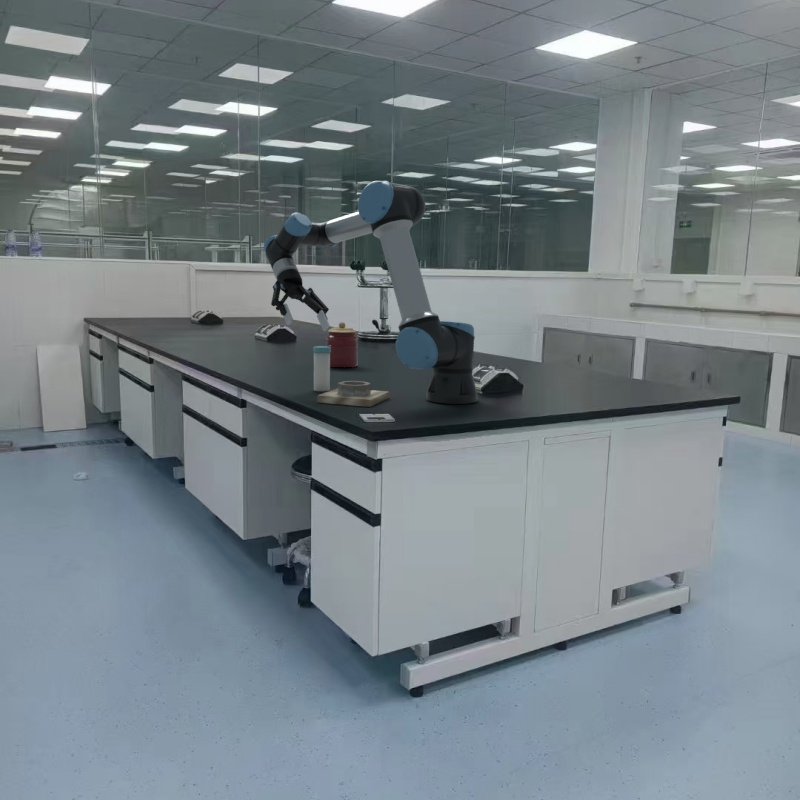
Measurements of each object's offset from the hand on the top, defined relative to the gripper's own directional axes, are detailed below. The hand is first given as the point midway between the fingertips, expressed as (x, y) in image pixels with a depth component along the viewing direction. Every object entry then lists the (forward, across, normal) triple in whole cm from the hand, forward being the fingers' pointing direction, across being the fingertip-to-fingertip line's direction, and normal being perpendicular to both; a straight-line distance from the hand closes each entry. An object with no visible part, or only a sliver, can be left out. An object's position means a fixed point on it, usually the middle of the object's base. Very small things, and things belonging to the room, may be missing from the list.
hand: (308, 325), depth 216 cm
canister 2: (-23, -50, -41) cm, 69 cm away
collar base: (+28, -5, 0) cm, 29 cm away
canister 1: (+14, -8, -14) cm, 21 cm away
